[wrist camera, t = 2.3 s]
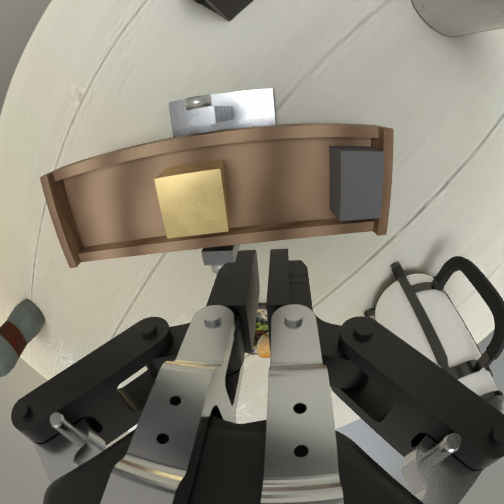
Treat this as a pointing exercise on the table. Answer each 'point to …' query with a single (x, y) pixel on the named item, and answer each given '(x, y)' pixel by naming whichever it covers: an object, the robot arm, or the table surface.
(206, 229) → the brass block
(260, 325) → the burger
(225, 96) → the pivot stand
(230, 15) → the phone stand
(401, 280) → the coffee press
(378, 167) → the block
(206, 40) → the table surface
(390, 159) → the beam
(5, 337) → the bottle
